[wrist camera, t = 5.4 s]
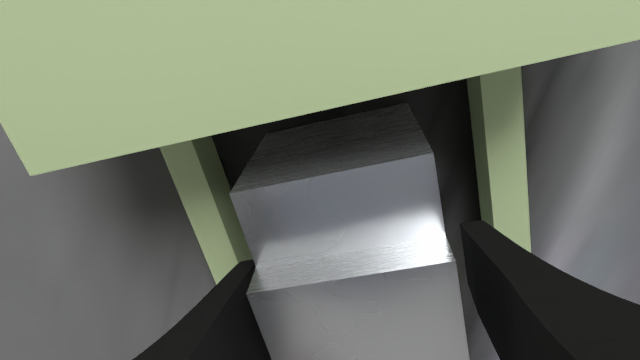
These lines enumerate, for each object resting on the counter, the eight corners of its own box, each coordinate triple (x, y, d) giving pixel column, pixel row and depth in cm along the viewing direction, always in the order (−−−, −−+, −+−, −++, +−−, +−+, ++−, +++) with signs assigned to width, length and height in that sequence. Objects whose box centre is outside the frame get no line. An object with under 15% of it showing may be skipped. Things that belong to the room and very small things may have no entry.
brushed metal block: (437, 285, 15) (479, 426, 10) (318, 303, 16) (303, 443, 11) (406, 101, 13) (443, 171, 8) (266, 132, 13) (215, 215, 8)
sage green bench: (545, 234, 14) (638, 350, 10) (213, 288, 16) (159, 406, 11) (530, -158, 10) (684, -288, 5) (83, -23, 12) (-87, -33, 7)
